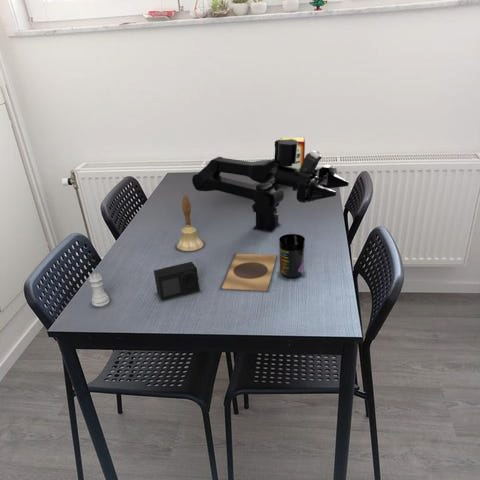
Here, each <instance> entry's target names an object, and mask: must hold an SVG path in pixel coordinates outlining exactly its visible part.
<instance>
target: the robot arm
mask: <svg viewBox="0 0 480 480" xmlns="http://www.w3.org/2000/svg"><path fill="white" fill-rule="evenodd" d="M297 146H298V141H296V140H293V139H290V140H281V139H276V140H275V141H274V157H273V159H261V160H257V161H248V160H242V159H234V158H228V157H227V158H226V157H224V156H223V157H222V156H217V157H215V158H212V159H210V160H209V162H208V163H207V164H206V165H205V166H204V167H203V168H202V169H201V170H200V171H199V172H197V173H195V174H194V175H192V179H191V181H192V185H193V187H194V189H195V190H196V191H198V192H212V191H213V192H214V191H218V192H221V193H226V194H230V195H232V196H236V197H241V198H245V199H249V200H252V202H253V204H252V205H251V208H252V212H253V213H255V225H254V226H253V229H254V230H260V231H265V232H266V231H267V232H272V231H274V230H275V229H276V228H277V227H278V226H279V225H280V222H279V213H278V208H277V207H279V205H280V203H281V202H282V201H283V200H284V197H285V193H284V190H283V189H282V188H283V186H284V187H287V188H292V191H294V192H296V196H295V197H296V200H297V201H298V203H301V204H306V203H310V202H313V201H318V200H322V199H327V198H333V197H336V196H337V191H335V190H333V189H335V188H345V187H348V186H349V184H350V182H349V181H347V180H345V179H344V178H342V177H341V176H339V175H337V173H336V172H335V169H334V166H333V164H328V163H326V164H325V165H323V166H322V167H320V168H317V166H318V164H319V162H320V161H321V159H322V157H323V156H322V155H321V154H320V151H318V150H311V151H309V152H308V153H307V154H306V155H305V156H304V161H303V163H302V165H301V168H299V169H297V168H293V167H288V166H292V165H293V163H295V162H296V158H297ZM221 173H225V174H231V175H237V176H243V177H246V178H247V177H248V178H249V179H250V180H251V181H254V182H255V183H259V184H257V185H256V184H252V183H248V182H244V181H239V180H236V179H232V178H228V177H224V176H221ZM271 180H273V182H271Z"/></svg>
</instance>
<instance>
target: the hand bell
mask: <svg viewBox="0 0 480 480" xmlns="http://www.w3.org/2000/svg"><path fill="white" fill-rule="evenodd" d="M181 209H182V213H183V216H184V224H185V227H183V228H182V229H181V231H180V232H181V233H180V234H181V235H180V239H179V241H178V242H177V244H176V248H177V249H178V250H180V251H182V252H194V251H199V250H200V249H202V248H203V247H204V242H203V240H201V239H200V238H199V236H198V232H197V229H196V228H195V227H193V226H192V222H191V220H192V219H191V212H192V205H191V201H190V199H189V196H188V195H183V196H182V201H181Z"/></svg>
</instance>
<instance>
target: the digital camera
mask: <svg viewBox="0 0 480 480" xmlns="http://www.w3.org/2000/svg"><path fill="white" fill-rule="evenodd" d="M153 274H154V275H153V276H154V281H155V286H156V291H157V295H158V297H159V299H160V300H161V301H166V300H170V299H174V298H178V297H181V296H187V295H191V294H193V293H198V292H200V285H199V275H198V274H199V273H198V267H197V266H196V264H195V263H194V262H193V261H188V262H184V263H179V264H175V265H171V266H166V267H163V268H158V269H153Z"/></svg>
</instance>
